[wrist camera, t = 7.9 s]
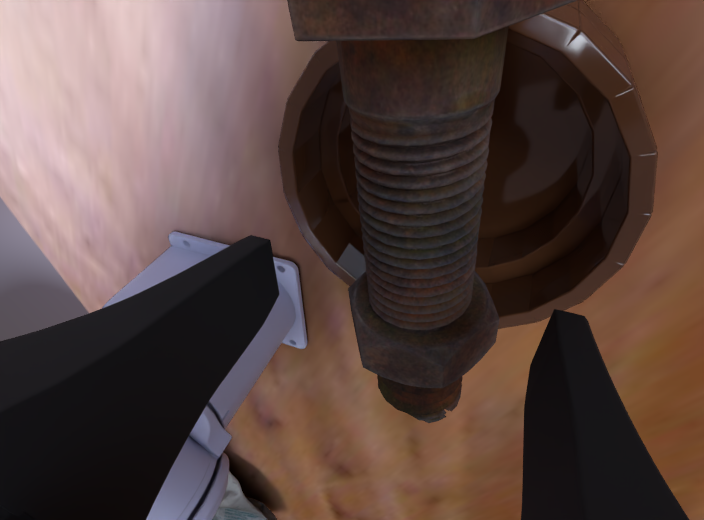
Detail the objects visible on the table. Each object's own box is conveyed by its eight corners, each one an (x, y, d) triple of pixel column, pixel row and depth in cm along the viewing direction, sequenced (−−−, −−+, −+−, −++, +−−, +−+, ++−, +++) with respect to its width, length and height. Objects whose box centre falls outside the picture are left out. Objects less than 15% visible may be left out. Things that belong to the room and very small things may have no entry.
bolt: (424, 318, 20) (429, -104, 10) (518, 388, 17) (657, -129, 7) (324, 392, 17) (204, -70, 8) (411, 492, 14) (397, -86, 4)
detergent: (297, 521, 58) (232, 422, 44) (267, 579, 54) (183, 489, 39) (226, 485, 65) (147, 386, 50) (194, 534, 60) (96, 441, 45)
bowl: (338, 226, 23) (295, 287, 19) (328, -37, 15) (254, -17, 12) (573, 279, 19) (572, 364, 16) (707, -25, 12) (763, 8, 8)
